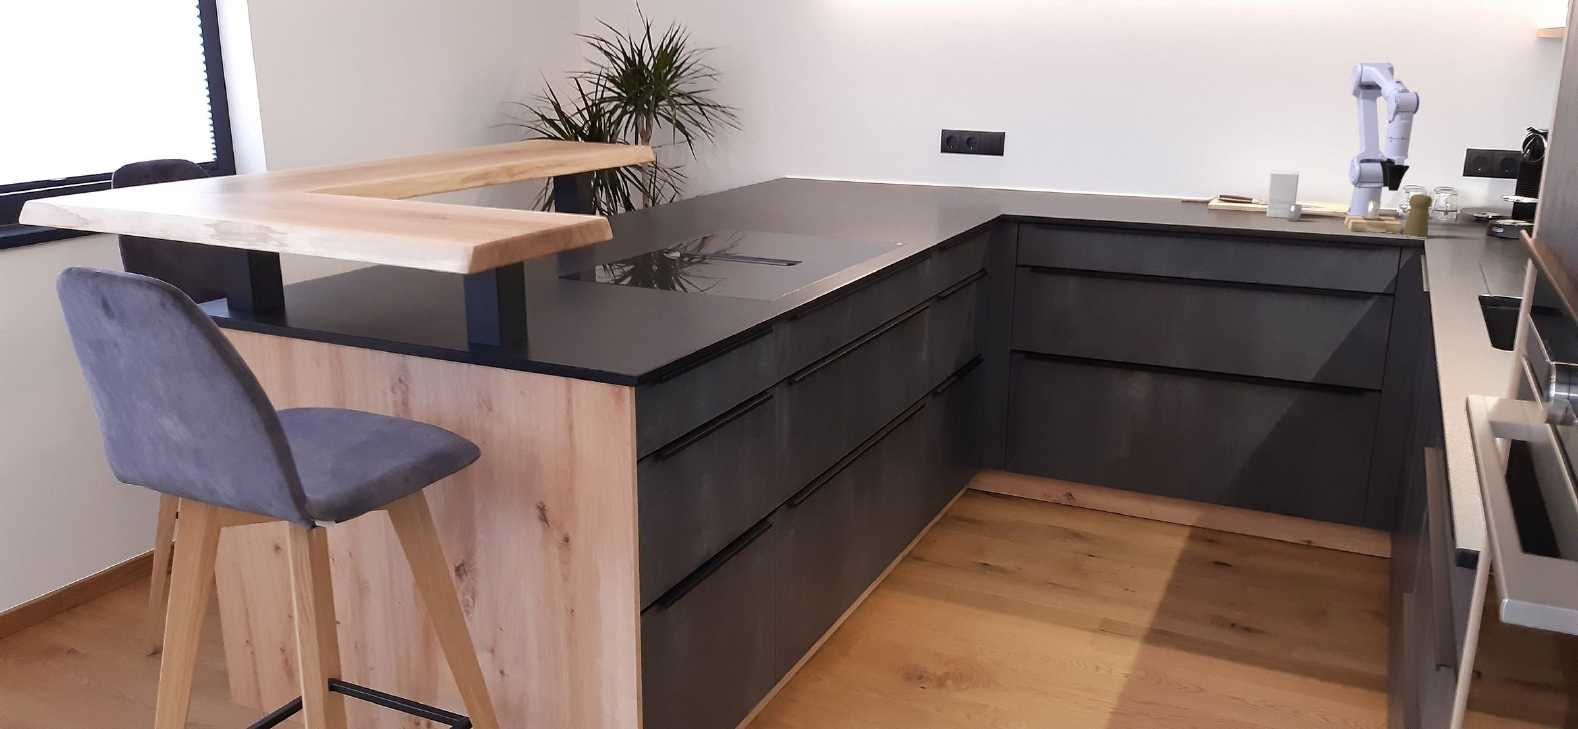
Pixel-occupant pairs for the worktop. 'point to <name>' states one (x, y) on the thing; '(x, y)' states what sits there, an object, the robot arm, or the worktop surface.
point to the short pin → (1294, 213)
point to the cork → (1418, 216)
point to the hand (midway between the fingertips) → (1390, 188)
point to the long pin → (1373, 210)
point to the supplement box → (1282, 193)
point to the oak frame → (1372, 224)
